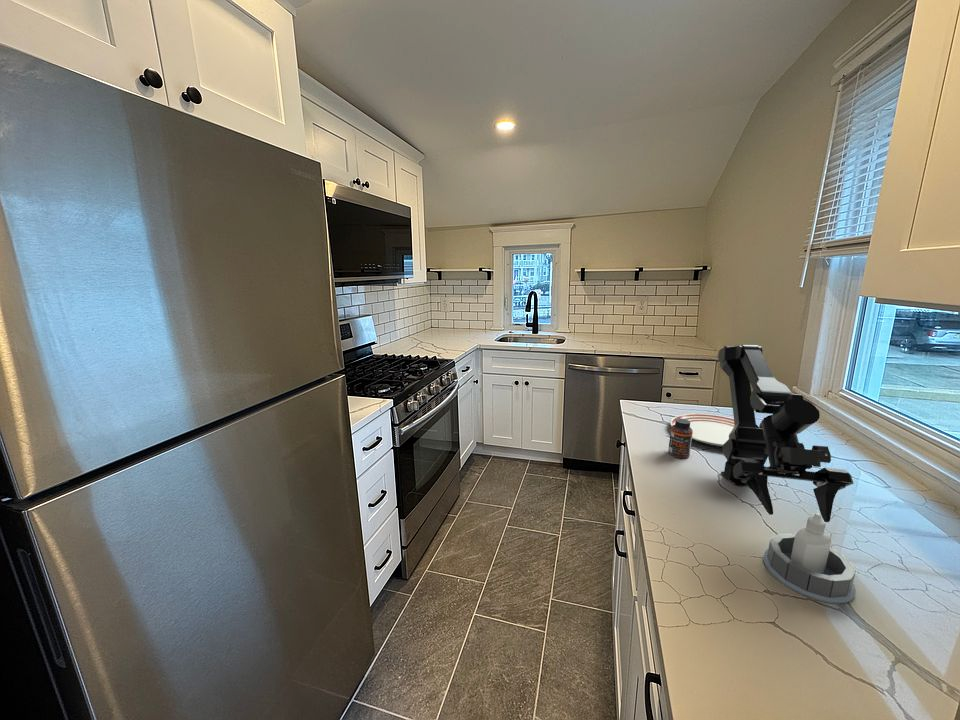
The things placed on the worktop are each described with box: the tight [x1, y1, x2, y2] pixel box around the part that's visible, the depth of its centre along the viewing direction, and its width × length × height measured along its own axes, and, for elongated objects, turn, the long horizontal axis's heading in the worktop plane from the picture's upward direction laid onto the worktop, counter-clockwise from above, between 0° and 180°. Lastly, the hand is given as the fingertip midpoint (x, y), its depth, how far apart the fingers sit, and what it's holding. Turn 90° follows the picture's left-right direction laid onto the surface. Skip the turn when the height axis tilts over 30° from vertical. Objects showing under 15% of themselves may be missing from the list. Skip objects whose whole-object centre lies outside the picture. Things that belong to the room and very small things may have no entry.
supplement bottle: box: [667, 418, 693, 459], centre depth 114 cm, size 6×6×11 cm
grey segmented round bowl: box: [763, 533, 857, 605], centre depth 69 cm, size 13×13×4 cm
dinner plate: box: [669, 413, 735, 447], centre depth 128 cm, size 28×27×3 cm
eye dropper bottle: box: [790, 512, 832, 574], centre depth 68 cm, size 4×6×12 cm
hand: (798, 518), depth 73 cm, fingers open, 9 cm apart
